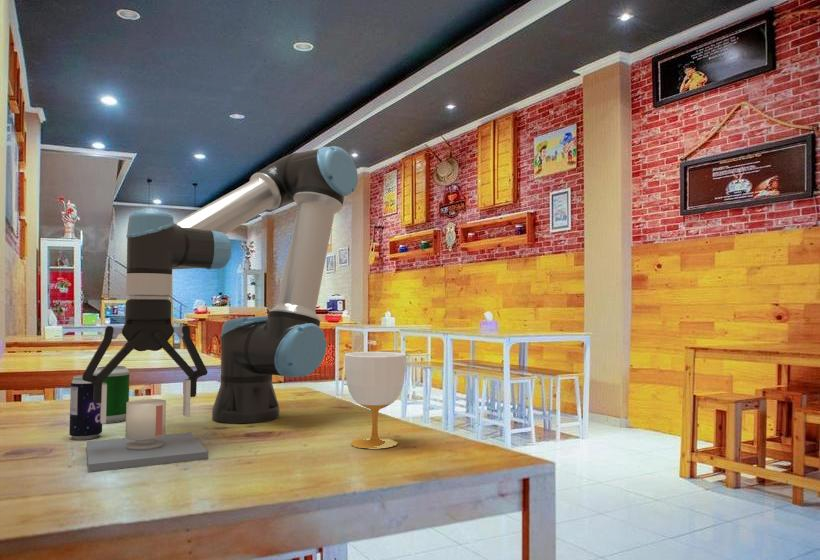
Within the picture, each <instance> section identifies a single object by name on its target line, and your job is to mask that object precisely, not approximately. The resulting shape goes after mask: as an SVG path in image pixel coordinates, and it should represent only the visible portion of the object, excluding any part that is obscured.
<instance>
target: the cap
mask: <svg viewBox="0 0 820 560" xmlns="http://www.w3.org/2000/svg"><path fill="white" fill-rule="evenodd" d="M166 404H167V400H166V399H161V398H147V399H145V398H142V399H134V400H129V402H127V403H126V418H125V438H126V439H129V440H149V439H156V438H160V437H163V436H165V434H166V416H167V415H166V412H167V411H166V410H167V409H166V408H167V405H166Z"/></svg>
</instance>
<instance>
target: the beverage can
mask: <svg viewBox="0 0 820 560" xmlns="http://www.w3.org/2000/svg"><path fill="white" fill-rule="evenodd" d="M82 375H83V374H81V375H75V376H73V377H72V378H73V379H72V381H71V383H70V395H69V396H70V398H69V399H70V400H69V401H70V402H69V403H70V405H69V431H68V432H69V433H68V434H69V436H70V437H72V438H73V440H76V441H78V440H79V441H82V440H85V441H86V440H87V441H88V440H92V439H93V440H94V439H97V438H98V437H99V435H101V433H103V424H101V422H100V414H101V403H95V402H94V384H93V383H91V382H87V381H84V380H83V378H82ZM96 376H97V375H96ZM102 383H103V382H102Z"/></svg>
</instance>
